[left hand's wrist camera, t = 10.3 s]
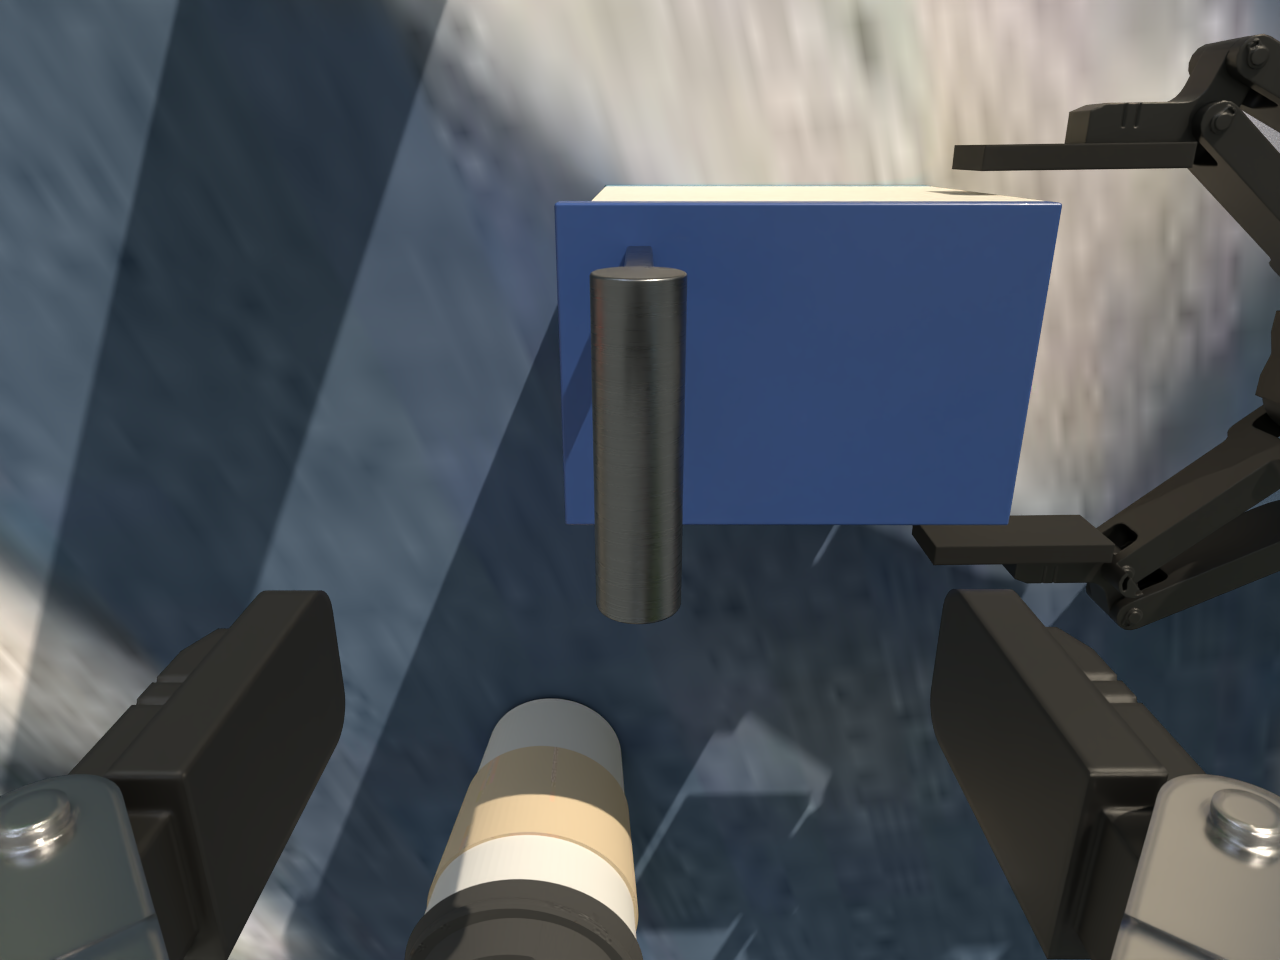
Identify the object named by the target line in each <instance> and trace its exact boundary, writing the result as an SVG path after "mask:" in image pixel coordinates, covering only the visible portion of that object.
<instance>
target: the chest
mask: <svg viewBox="0 0 1280 960" xmlns="http://www.w3.org/2000/svg"><path fill="white" fill-rule="evenodd" d="M592 201H1041V200H1033V199H1025V198H1018V197H1010V196H1002V195H994V194H986V193H978V192H970V191H962V190H954V189H946V188H938V187H931V186H926V185H605V186H604V189H603V190H602V191H601V192H600V193H599V194H598V195H597V196H596V197H595V198H594V199H593V200H592Z"/></svg>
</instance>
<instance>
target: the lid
mask: <svg viewBox="0 0 1280 960" xmlns="http://www.w3.org/2000/svg"><path fill="white" fill-rule="evenodd" d="M1061 208H1062V204H1061V203H1057V202H1049V201H559V202H557V203H556V204H555V235H556V264H557V293H558V323H559V352H560V381H561V411H562V440H563V470H564V499H565V523H566V524H567V525H595V564H596V604H597V607H598V609H599V610H600V612H601V613H602V614H604V615H605V616H606V617H608V618H610V619H612V620H615V621H619V622H623V623H629V624H648V623H655V622H659V621H662V620H665V619H667V618H669V617H671V616H672V615H674V614H675V613H676V612H677V611H678V609H679V607H680V605H681V575H682V525H1008V522H1009V516H1010V510H1011V504H1012V499H1013V493H1014V487H1015V481H1016V475H1017V469H1018V463H1019V457H1020V451H1021V445H1022V439H1023V433H1024V427H1025V421H1026V416H1027V410H1028V404H1029V398H1030V392H1031V386H1032V380H1033V374H1034V368H1035V362H1036V356H1037V350H1038V344H1039V338H1040V333H1041V327H1042V321H1043V315H1044V309H1045V303H1046V297H1047V291H1048V285H1049V279H1050V273H1051V267H1052V261H1053V255H1054V250H1055V244H1056V238H1057V232H1058V226H1059V220H1060V214H1061Z"/></svg>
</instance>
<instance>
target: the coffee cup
mask: <svg viewBox="0 0 1280 960" xmlns="http://www.w3.org/2000/svg"><path fill="white" fill-rule="evenodd" d="M637 924H638V905H637V894H636V884H635V873H634V863H633V852H632V841H631V831H630V820H629V810H628V804H627V800H626V797H625V794H624V782H623V770H622V757H621V748H620V743H619V740H618V738H617V736H616V734H615V732H614V730H613V729H612V727H611V726H610V725H609V723H608V722H607V721H606V720H605V719H604V718H603V717H602V716H600V715H599V714H598V713H596V712H595V711H593V710H592V709H590V708H588V707H586V706H584V705H582V704H579V703H576V702H573V701H569V700H564V699H552V698H550V699H538V700H533V701H530V702H526V703H524V704H521V705H519V706H517V707H515V708H514V709H512V710H511V711H509V712H508V713H507V714H505V715H504V716H503V717H502V718H501V719H500V721H499V722H498V723H497V725H496V726H495V728H494V730H493V732H492V735H491V737H490V740H489V743H488V746H487V748H486V751H485V754H484V756H483V759H482V762H481V764H480V767H479V770H478V772H477V774H476V775H475V777H474V778H473V780H472V781H471V783H470V785H469V788H468V790H467V793H466V796H465V798H464V801H463V804H462V806H461V809H460V811H459V814H458V817H457V819H456V822H455V825H454V827H453V830H452V832H451V835H450V838H449V840H448V843H447V846H446V848H445V851H444V853H443V856H442V859H441V861H440V864H439V867H438V869H437V872H436V874H435V877H434V880H433V882H432V885H431V888H430V891H429V894H428V900H427V909H426V912H425V915H424V916H423V917H422V918H421V919H420V921H419V922H418V923H417V925H416V926H415V928H414V930H413V931H412V933H411V936H410V938H409V941H408V944H407V947H406V953H405V960H643V957H642V953H641V950H640V947H639V944H638V942H637V940H636V929H637Z"/></svg>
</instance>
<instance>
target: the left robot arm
mask: <svg viewBox="0 0 1280 960" xmlns="http://www.w3.org/2000/svg"><path fill="white" fill-rule="evenodd" d="M930 706H931V717H932V723H933V728H934V732H935V735H936V738H937V741H938V743H939V745H940V747H941V749H942V751H943V753H944V755H945V757H946V759H947V761H948V763H949V765H950V767H951V769H952V771H953V773H954V775H955V777H956V779H957V781H958V783H959V785H960V787H961V789H962V791H963V793H964V795H965V796H966V798H967V800H968V802H969V804H970V806H971V808H972V810H973V812H974V814H975V816H976V818H977V820H978V822H979V824H980V826H981V828H982V830H983V832H984V834H985V836H986V838H987V840H988V842H989V844H990V846H991V848H992V850H993V852H994V854H995V856H996V858H997V860H998V862H999V864H1000V866H1001V868H1002V870H1003V872H1004V874H1005V876H1006V878H1007V880H1008V882H1009V884H1010V886H1011V888H1012V890H1013V892H1014V894H1015V896H1016V898H1017V900H1018V902H1019V904H1020V906H1021V908H1022V910H1023V912H1024V914H1025V916H1026V918H1027V920H1028V922H1029V924H1030V926H1031V928H1032V930H1033V932H1034V934H1035V936H1036V937H1037V939H1038V941H1039V943H1040V945H1041V947H1042V949H1043V951H1044V953H1045V955H1046V957H1047V959H1091V960H1280V796H1278V795H1276V794H1274V793H1272V792H1269V791H1267V790H1265V789H1263V788H1260V787H1257V786H1255V785H1252V784H1249V783H1246V782H1243V781H1240V780H1236V779H1232V778H1227V777H1223V776H1216V775H1208V774H1206V773H1205V772H1204V771H1203V770H1202V769H1201V768H1200V766H1199V765H1198V764H1197V763H1196V762H1195V761H1194V760H1193V759H1192V758H1191V757H1190V755H1189V754H1188V753H1187V752H1186V751H1185V750H1184V749H1183V748H1182V747H1181V746H1180V744H1179V743H1178V742H1177V741H1176V740H1175V739H1174V738H1173V737H1172V736H1171V735H1170V733H1169V732H1168V731H1167V730H1166V729H1165V728H1164V727H1163V726H1162V725H1161V724H1160V722H1159V721H1158V720H1157V719H1156V718H1155V717H1154V716H1153V715H1152V714H1151V712H1150V711H1149V710H1148V709H1147V708H1146V707H1145V706H1144V705H1143V704H1142V703H1137V697H1136V696H1135V695H1134V694H1133V693H1132V692H1131V690H1130V689H1129V688H1128V687H1127V686H1126V685H1125V684H1124V683H1123V682H1122V681H1117V675H1116V674H1115V673H1114V672H1113V671H1112V670H1111V668H1110V667H1109V666H1108V665H1107V664H1106V663H1105V662H1104V661H1103V660H1102V659H1101V657H1100V656H1099V655H1098V654H1097V653H1096V652H1095V651H1094V650H1093V649H1092V648H1090V647H1089V646H1087V645H1085V644H1084V643H1082V642H1080V641H1079V640H1077V639H1075V638H1074V637H1072V636H1070V635H1069V634H1067V633H1065V632H1064V631H1062V630H1061V629H1059V628H1057V627H1045V626H1044V625H1043V624H1042V622H1041V621H1040V620H1039V619H1038V618H1037V617H1036V615H1035V614H1034V613H1033V612H1032V611H1031V609H1030V608H1029V607H1028V606H1027V605H1026V604H1025V602H1024V601H1023V600H1022V599H1021V598H1020V597H1019V595H1018V594H1017V593H1016V592H1015V591H1013V590H1011V589H952V590H950V591H949V592H948V594H947V596H946V598H945V601H944V605H943V610H942V617H941V624H940V631H939V638H938V645H937V652H936V659H935V666H934V673H933V680H932V686H931V697H930ZM344 715H345V692H344V684H343V677H342V671H341V664H340V657H339V650H338V643H337V637H336V630H335V623H334V616H333V610H332V605H331V601H330V599H329V596H328V595H327V593H325V592H324V591H263V592H261V593H260V594H258V595H257V597H256V598H255V599H254V600H253V601H252V602H251V604H250V605H249V606H248V607H247V608H246V609H245V611H244V612H243V613H242V614H241V615H240V616H239V618H238V619H237V620H236V621H235V622H234V623H233V625H232V626H231V627H230V628H229V629H217V630H215V631H213V632H212V633H210V634H208V635H207V636H205V637H203V638H202V639H200V640H199V641H197V642H195V643H194V644H192V645H190V646H189V647H187V648H185V649H184V650H182V651H181V652H180V653H179V654H178V655H177V656H176V657H175V658H174V659H173V660H172V662H171V663H170V664H169V665H168V666H167V667H166V668H165V669H164V670H163V671H162V672H161V674H160V675H159V676H158V677H157V682H156V683H151V685H150V686H149V687H148V688H147V689H146V690H145V691H144V692H143V693H142V694H141V695H140V697H139V698H138V699H137V704H136V705H131V706H130V707H129V709H128V710H127V711H126V712H125V713H124V714H123V715H122V716H121V717H120V718H119V719H118V721H117V722H116V723H115V724H114V725H113V726H112V727H111V728H110V729H109V730H108V731H107V733H106V734H105V735H104V736H103V737H102V738H101V739H100V740H99V741H98V742H97V743H96V745H95V746H94V747H93V748H92V749H91V750H90V751H89V752H88V753H87V754H86V755H85V757H84V758H83V759H82V760H81V761H80V762H79V763H78V764H77V765H76V766H75V767H74V769H73V770H72V771H71V772H70V773H69V774H68V775H64V776H57V777H53V778H48V779H44V780H40V781H37V782H34V783H31V784H28V785H25V786H23V787H20V788H17V789H15V790H13V791H11V792H8V793H6V794H4V795H2V796H0V960H227V959H228V957H229V955H230V953H231V951H232V950H233V948H234V946H235V944H236V942H237V940H238V938H239V936H240V934H241V932H242V930H243V928H244V926H245V924H246V922H247V920H248V918H249V916H250V914H251V912H252V910H253V908H254V906H255V904H256V902H257V900H258V899H259V897H260V895H261V893H262V891H263V889H264V887H265V885H266V883H267V881H268V879H269V877H270V875H271V873H272V871H273V869H274V867H275V865H276V863H277V861H278V859H279V857H280V855H281V853H282V851H283V849H284V848H285V846H286V844H287V842H288V840H289V838H290V836H291V834H292V832H293V830H294V828H295V826H296V824H297V822H298V820H299V818H300V816H301V814H302V812H303V810H304V808H305V806H306V804H307V802H308V800H309V798H310V796H311V795H312V793H313V791H314V789H315V787H316V785H317V783H318V781H319V779H320V777H321V775H322V773H323V771H324V769H325V767H326V765H327V763H328V761H329V759H330V757H331V755H332V753H333V751H334V749H335V747H336V745H337V743H338V741H339V738H340V735H341V732H342V728H343V723H344Z"/></svg>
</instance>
